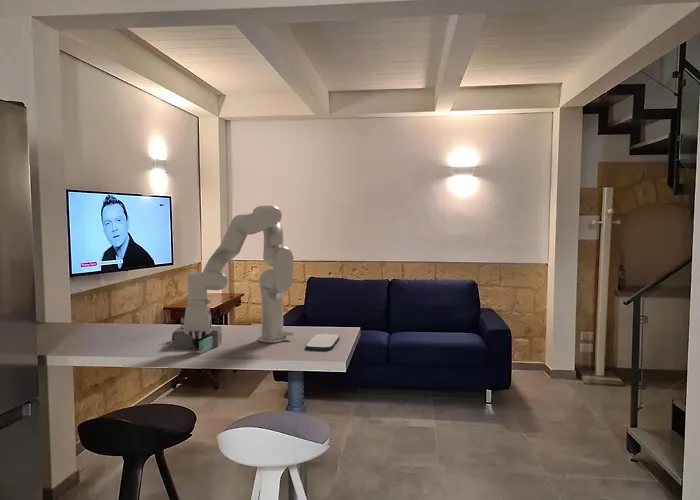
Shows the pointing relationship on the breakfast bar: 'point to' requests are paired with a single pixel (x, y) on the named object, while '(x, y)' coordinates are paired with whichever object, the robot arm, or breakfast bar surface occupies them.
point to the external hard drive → (322, 342)
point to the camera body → (188, 341)
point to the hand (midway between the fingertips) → (197, 347)
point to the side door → (206, 344)
